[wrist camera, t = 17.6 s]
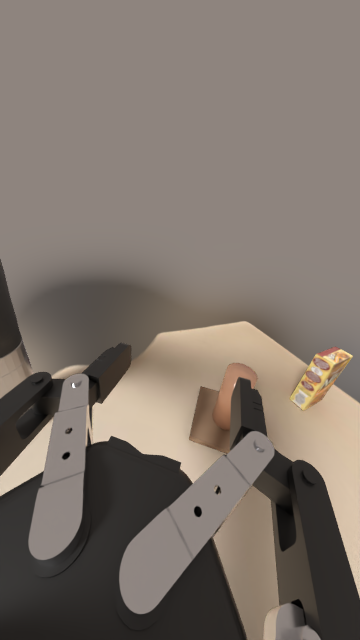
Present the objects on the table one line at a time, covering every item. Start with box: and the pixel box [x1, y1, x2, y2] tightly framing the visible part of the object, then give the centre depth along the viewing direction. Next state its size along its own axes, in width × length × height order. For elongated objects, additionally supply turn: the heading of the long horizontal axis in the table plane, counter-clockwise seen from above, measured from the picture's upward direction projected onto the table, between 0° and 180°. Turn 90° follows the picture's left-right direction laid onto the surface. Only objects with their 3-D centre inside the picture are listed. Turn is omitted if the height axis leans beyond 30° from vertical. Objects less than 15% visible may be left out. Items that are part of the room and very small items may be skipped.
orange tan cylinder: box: [212, 363, 257, 430], centre depth 37 cm, size 6×6×13 cm
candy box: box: [290, 347, 352, 411], centre depth 46 cm, size 9×4×15 cm, turn 118°
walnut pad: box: [189, 387, 231, 454], centre depth 40 cm, size 13×13×1 cm
